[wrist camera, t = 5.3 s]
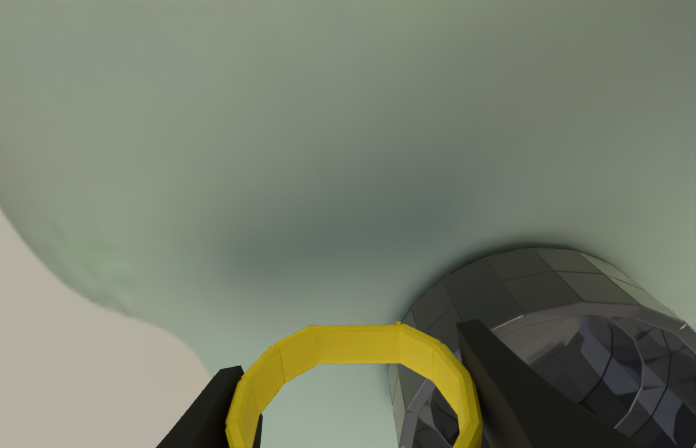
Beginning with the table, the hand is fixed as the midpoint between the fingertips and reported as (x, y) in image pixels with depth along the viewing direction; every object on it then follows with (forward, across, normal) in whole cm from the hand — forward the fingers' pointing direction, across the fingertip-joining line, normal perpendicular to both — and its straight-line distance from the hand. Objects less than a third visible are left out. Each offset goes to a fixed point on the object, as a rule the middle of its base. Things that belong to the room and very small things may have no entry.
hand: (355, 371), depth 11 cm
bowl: (+8, -7, +9) cm, 14 cm away
